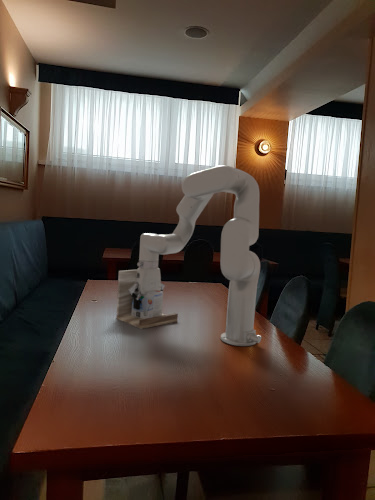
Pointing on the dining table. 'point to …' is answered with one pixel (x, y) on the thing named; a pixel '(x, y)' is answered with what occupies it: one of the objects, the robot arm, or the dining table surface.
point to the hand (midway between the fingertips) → (146, 307)
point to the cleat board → (125, 304)
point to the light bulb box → (149, 305)
